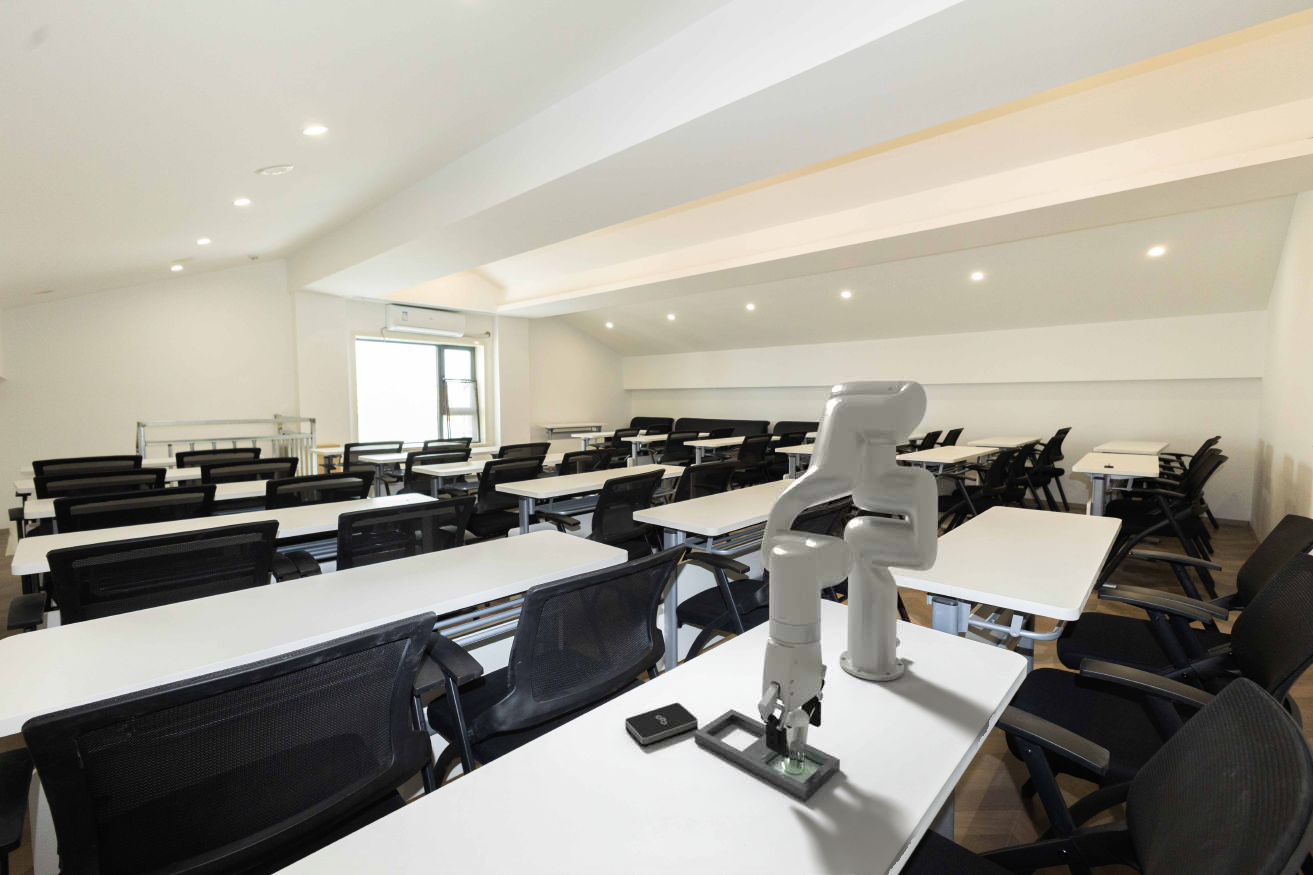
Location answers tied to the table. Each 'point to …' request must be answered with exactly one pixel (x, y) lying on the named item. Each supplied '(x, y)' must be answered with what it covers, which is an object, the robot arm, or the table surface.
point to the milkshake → (796, 741)
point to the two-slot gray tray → (769, 757)
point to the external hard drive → (661, 724)
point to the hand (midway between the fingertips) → (794, 736)
